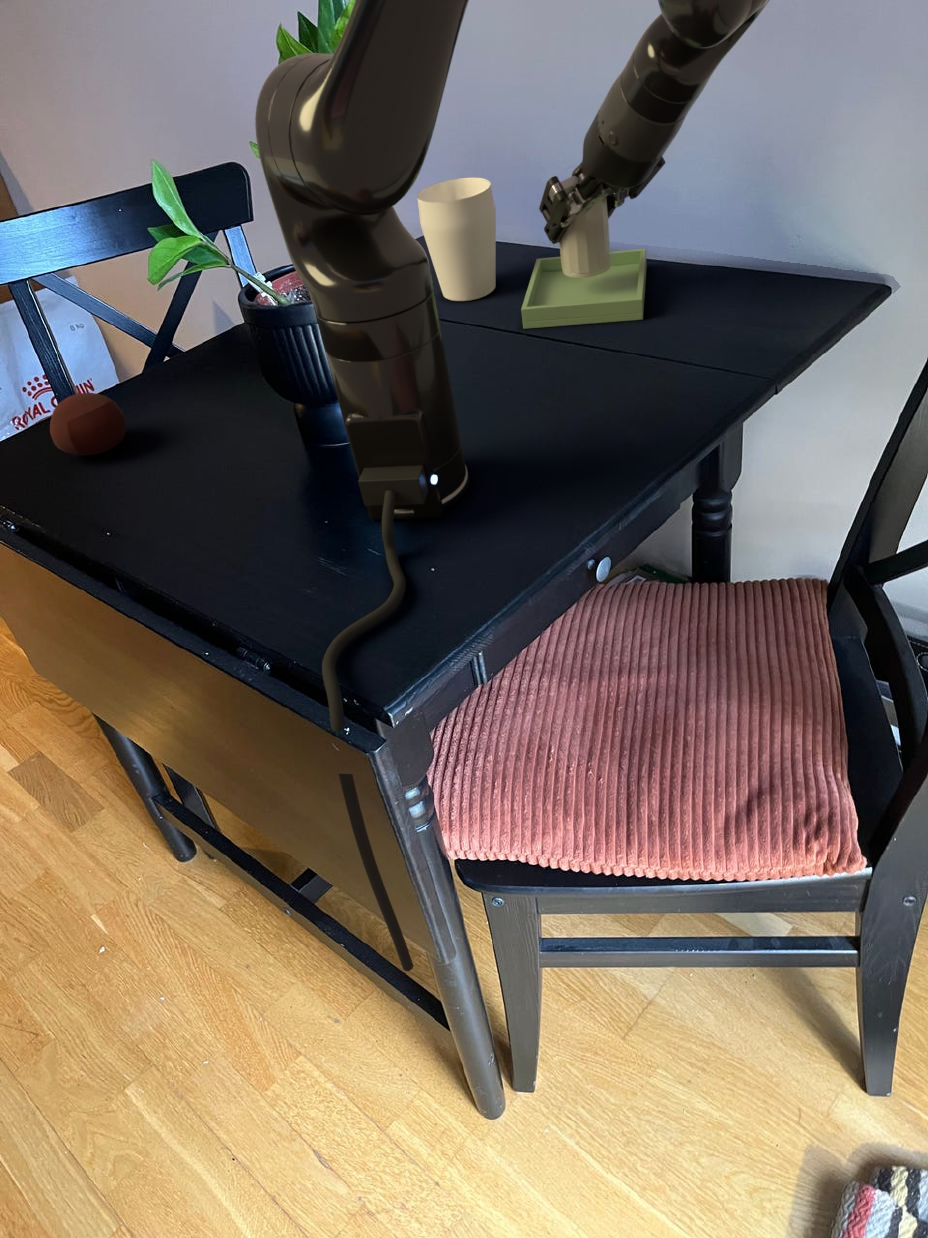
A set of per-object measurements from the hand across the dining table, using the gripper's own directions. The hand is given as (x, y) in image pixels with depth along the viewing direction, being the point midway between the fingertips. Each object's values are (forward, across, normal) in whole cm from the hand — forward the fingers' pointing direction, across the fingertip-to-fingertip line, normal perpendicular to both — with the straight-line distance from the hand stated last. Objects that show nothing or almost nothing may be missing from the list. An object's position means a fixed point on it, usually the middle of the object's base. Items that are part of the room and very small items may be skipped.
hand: (574, 227), depth 104 cm
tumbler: (+2, 0, +4) cm, 5 cm away
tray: (+4, 0, +7) cm, 8 cm away
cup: (+14, +8, -3) cm, 16 cm away
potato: (+10, +57, 0) cm, 58 cm away
